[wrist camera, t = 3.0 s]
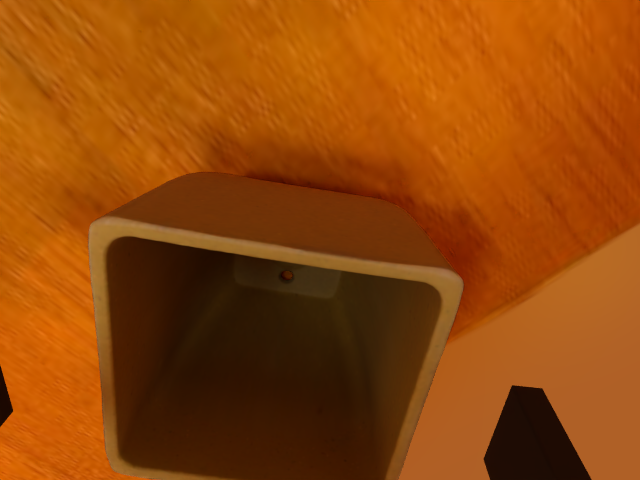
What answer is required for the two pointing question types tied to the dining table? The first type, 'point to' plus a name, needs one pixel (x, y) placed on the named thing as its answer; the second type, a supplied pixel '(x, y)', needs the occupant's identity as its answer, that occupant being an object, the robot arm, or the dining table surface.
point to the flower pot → (265, 331)
